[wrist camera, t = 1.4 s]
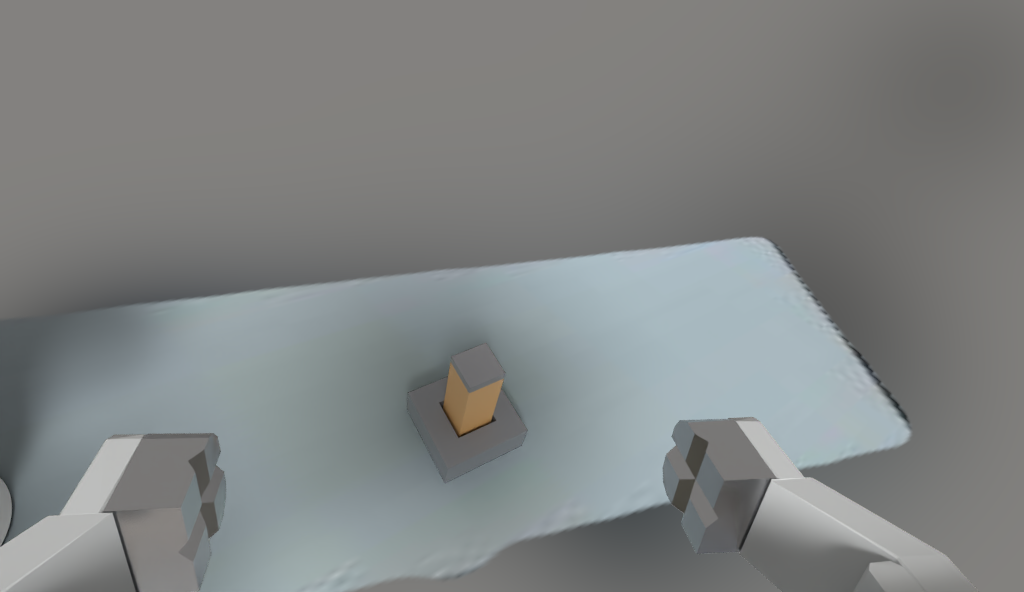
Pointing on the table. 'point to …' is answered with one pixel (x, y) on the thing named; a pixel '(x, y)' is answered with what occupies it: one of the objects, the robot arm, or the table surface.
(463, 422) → the plug
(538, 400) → the table surface
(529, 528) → the table surface
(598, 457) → the table surface
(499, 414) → the grey square block
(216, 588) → the table surface
